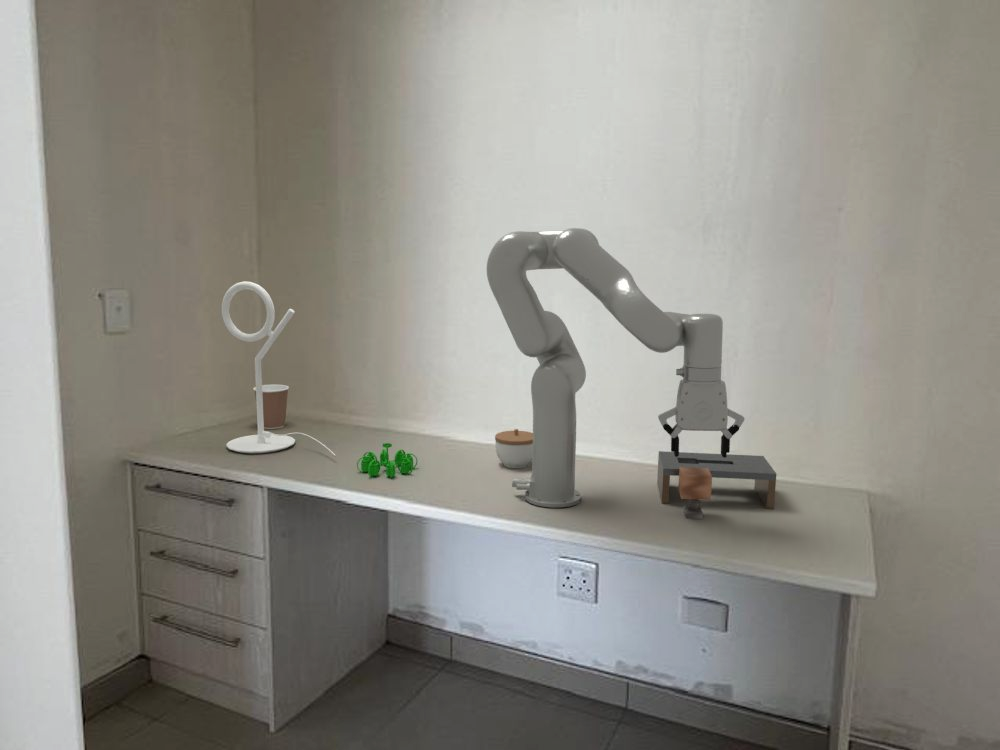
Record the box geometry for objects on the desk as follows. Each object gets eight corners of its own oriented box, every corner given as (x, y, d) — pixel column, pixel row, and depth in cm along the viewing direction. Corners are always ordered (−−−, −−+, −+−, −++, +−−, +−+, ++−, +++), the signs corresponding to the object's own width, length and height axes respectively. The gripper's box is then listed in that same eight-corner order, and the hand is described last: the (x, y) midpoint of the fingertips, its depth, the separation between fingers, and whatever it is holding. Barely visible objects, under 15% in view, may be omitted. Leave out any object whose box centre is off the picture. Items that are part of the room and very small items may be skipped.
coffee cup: (295, 423, 243) (293, 384, 241) (282, 431, 233) (281, 391, 231) (262, 421, 244) (261, 383, 242) (249, 429, 234) (247, 390, 232)
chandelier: (429, 468, 199) (429, 441, 197) (394, 484, 186) (393, 456, 184) (381, 459, 206) (381, 434, 204) (344, 474, 193) (343, 447, 191)
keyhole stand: (661, 503, 174) (663, 468, 172) (657, 483, 188) (658, 451, 186) (773, 509, 171) (776, 473, 170) (760, 488, 185) (763, 455, 183)
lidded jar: (490, 460, 205) (490, 425, 204) (529, 457, 208) (530, 423, 206) (500, 472, 195) (501, 435, 193) (541, 469, 198) (542, 433, 196)
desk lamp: (208, 450, 211) (198, 282, 203) (248, 434, 228) (241, 278, 220) (332, 464, 200) (327, 286, 192) (365, 446, 217) (362, 282, 209)
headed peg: (679, 520, 164) (682, 475, 162) (677, 510, 170) (679, 467, 168) (709, 521, 163) (712, 476, 161) (705, 511, 169) (708, 468, 167)
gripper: (660, 377, 158) (658, 459, 161) (749, 377, 156) (745, 461, 159) (657, 371, 166) (656, 450, 169) (742, 371, 163) (739, 451, 166)
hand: (699, 455), depth 164 cm, fingers open, 9 cm apart
